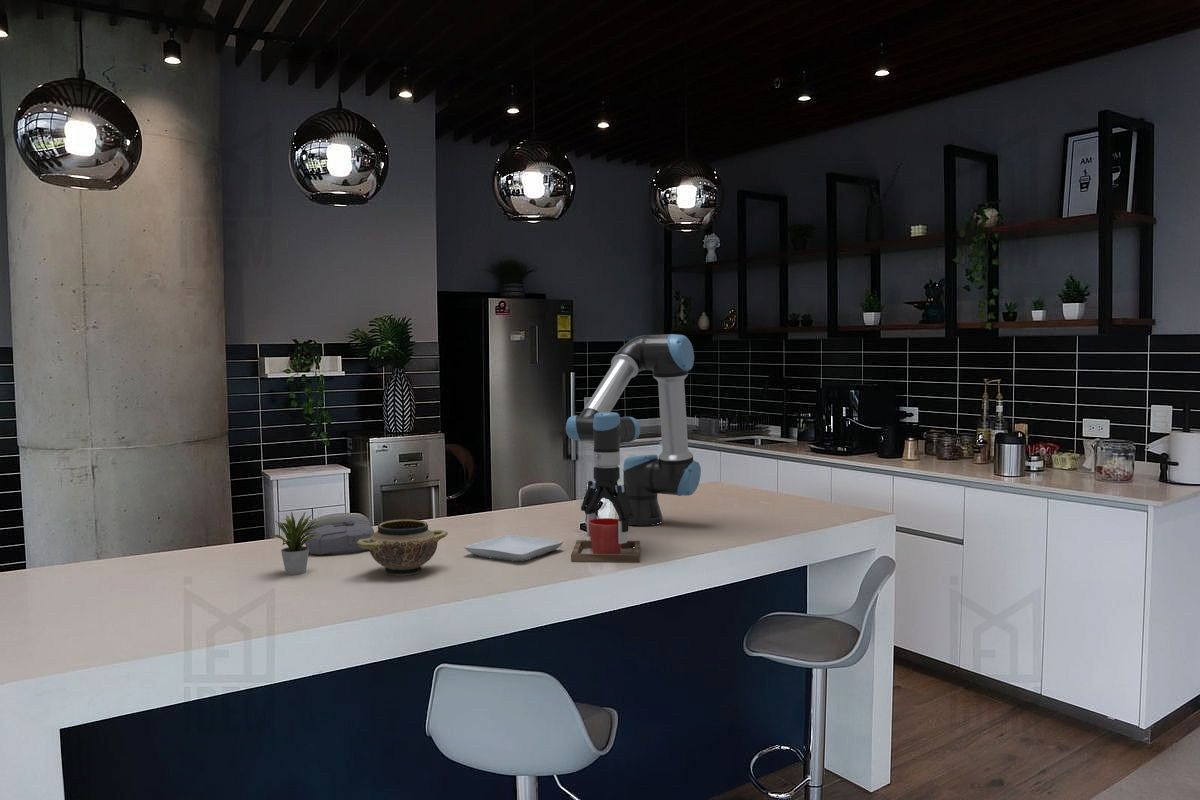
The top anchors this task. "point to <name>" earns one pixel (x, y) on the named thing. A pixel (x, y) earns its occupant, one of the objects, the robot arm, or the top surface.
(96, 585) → the top surface
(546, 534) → the top surface
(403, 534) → the ceramic bowl
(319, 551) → the soft grey pack
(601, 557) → the holder frame
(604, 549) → the flower pot
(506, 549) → the salad plate
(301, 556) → the house plant
